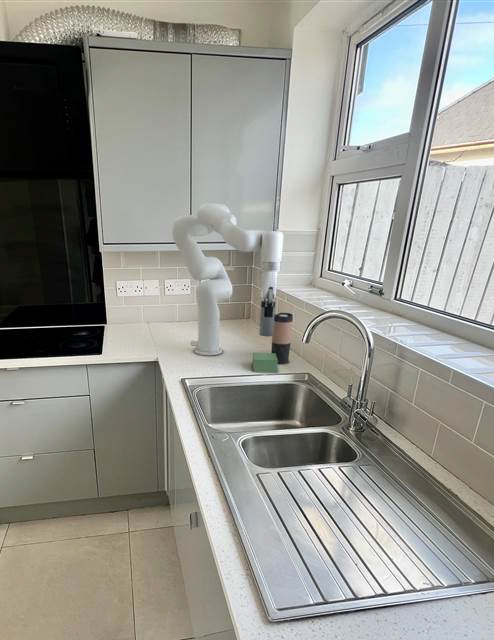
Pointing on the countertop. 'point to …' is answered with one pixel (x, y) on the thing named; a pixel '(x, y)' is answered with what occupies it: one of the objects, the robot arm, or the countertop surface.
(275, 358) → the green block
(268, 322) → the steel flask
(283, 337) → the travel mug
